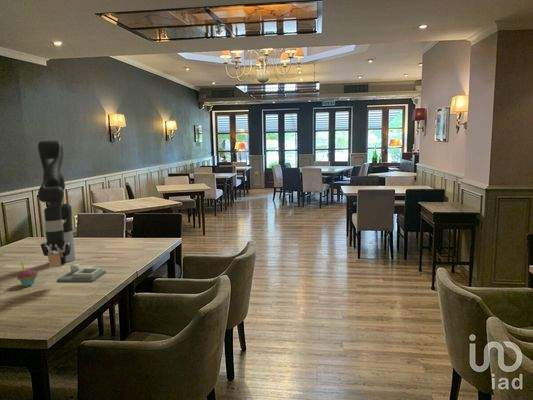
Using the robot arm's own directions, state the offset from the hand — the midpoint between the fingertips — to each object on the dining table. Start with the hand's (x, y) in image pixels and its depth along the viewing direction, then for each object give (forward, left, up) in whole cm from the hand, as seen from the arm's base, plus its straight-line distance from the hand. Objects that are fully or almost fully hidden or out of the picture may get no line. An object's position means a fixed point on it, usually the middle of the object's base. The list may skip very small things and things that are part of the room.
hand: (57, 264), depth 189 cm
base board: (+5, +11, -10) cm, 16 cm away
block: (0, 0, -1) cm, 1 cm away
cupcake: (-16, 0, -10) cm, 19 cm away
